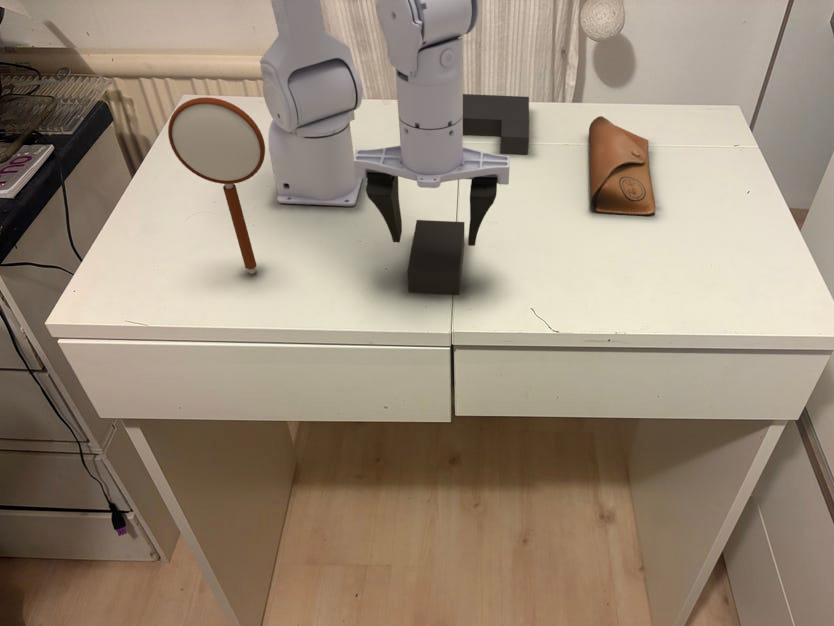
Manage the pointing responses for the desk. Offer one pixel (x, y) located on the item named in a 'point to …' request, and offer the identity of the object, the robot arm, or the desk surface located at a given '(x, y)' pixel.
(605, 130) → the sunglasses case
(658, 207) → the desk surface
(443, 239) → the black rectangular block
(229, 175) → the magnifying glass
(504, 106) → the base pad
